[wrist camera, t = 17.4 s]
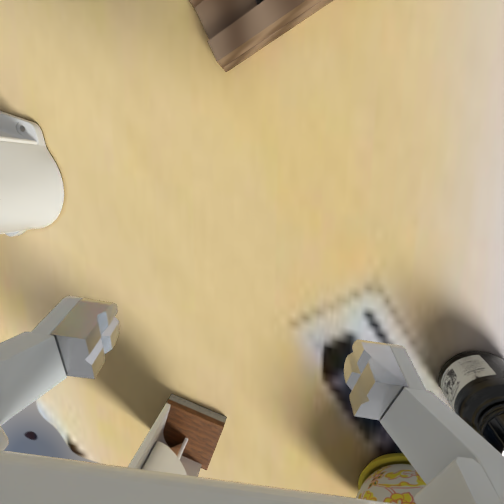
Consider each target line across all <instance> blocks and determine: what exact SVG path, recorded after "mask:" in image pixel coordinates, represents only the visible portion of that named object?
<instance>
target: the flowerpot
mask: <svg viewBox="0 0 504 504" xmlns="http://www.w3.org/2000/svg"><path fill="white" fill-rule="evenodd" d="M424 486H426V483H425V482H424V481H423V479H422V478H421V477H420V475H419V474H418V473H417V471H416V470H415V469H414V467H413V466H412V465H411V463H410V462H409V461H408V459H407V458H406V457H405V455H404V454H403V453H391V454H386V455H382V456H380V457H378V458H376V459H374V460H372V461H371V462H370V463H369V464H368V465H367V466H366V468H365V469H364V470H363V471H362V473H361V474H360V477H359V480H358V489H359V492H358V494H357V497H356V498H358V499H365V500H373V501H380V502H387V503H395V504H416V503H415V500H414V497H415V495H416V494H417V493H418V492H419V491H420V490H421V489H422V488H423V487H424Z"/></svg>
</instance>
